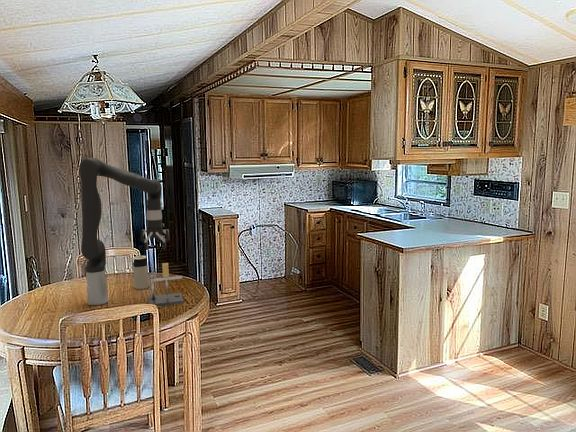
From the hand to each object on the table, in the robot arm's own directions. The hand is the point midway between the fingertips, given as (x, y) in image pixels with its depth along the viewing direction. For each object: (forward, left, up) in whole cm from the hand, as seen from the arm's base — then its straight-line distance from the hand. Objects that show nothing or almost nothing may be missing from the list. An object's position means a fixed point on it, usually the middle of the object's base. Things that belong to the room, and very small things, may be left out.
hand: (155, 249), depth 231 cm
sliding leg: (+4, -3, -25) cm, 26 cm away
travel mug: (-10, +27, -28) cm, 40 cm away
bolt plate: (+3, -3, -28) cm, 28 cm away
